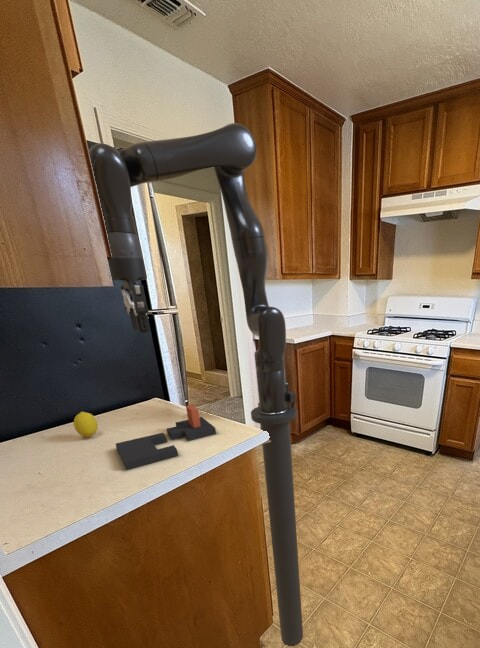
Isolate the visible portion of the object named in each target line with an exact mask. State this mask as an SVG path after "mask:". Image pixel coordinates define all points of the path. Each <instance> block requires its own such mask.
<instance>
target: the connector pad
mask: <svg viewBox="0 0 480 648" xmlns="http://www.w3.org/2000/svg"><path fill="white" fill-rule="evenodd" d="M185 409H186V413H187V419H185V420H179V421H176V422H175V426H172V427H168V428H166V433H167V434H166V435H167V436H168V437H169V439H171V441H175V440H179V439H182V438H185V439H186V441H188V442H190V441H194V440H197V439H202V438H206V437H209V436H214V435H217V431H216V430H217V429H216V427H215V426H214V425H213V424H211V423H210V422H209V421H208V420H206V419H205V418H204V417H203V416H200V413H199V408H198V407H196V406H195V405H194V404H190V405H186V406H185Z"/></svg>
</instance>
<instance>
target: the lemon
mask: <svg viewBox="0 0 480 648" xmlns="http://www.w3.org/2000/svg"><path fill="white" fill-rule="evenodd" d="M73 427H74V429H75V431H76V433H77V434H78V435H80V436H82V437H86V438H87V439H88V438H89V439H90V438H92V437H93V435H95V434H96V433H97V431H98V430H99V429H98V428H99V426H98V421H97V419H96V417H95V416H94V415H93V414H92V413H89V412H86V411H80V412H79V413H78V414H76V416H74V419H73Z"/></svg>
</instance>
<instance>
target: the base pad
mask: <svg viewBox="0 0 480 648" xmlns="http://www.w3.org/2000/svg"><path fill="white" fill-rule="evenodd" d="M167 442H168V441H167V436H166V435H165V433H164V432H159V433H156V434H151V435H147V436H142V437H138V438H134V439H133V438H132V439H128V440H125V441H121V442H116V443H115V449H116V451H117V454H118V456H119V458H120V460H121V462H122V464H123V467H124V468H125V470H126V471H128V470H132V469H135V468H139V467H143V466H147V465H151V464H154V463H159V462H161V461H165V460H168V459H173V458H177V457H179V453H178V448H177V447H176V446H175V445H174V444H173V445H170V446H165V447H161V448H157V445H160V444H166V443H167Z"/></svg>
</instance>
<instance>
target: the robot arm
mask: <svg viewBox="0 0 480 648" xmlns="http://www.w3.org/2000/svg"><path fill="white" fill-rule="evenodd" d="M88 151H89V154H90V158H91V163H92V167H93V171H94V176H95V181H96V184H97V189H98V194H99V198H100V203H101V208H102V212H103V216H104V220H105V225H106V230H107V234H108V240H109V244H110V249H111V253H112V258H111V259H109V261H108V262H109V267H110V271H111V276H112V279H111V280H112V281H121V282H122V285H120V290H121V294H122V299H123V304H124V310H125V311H126V313H127V314H128V316H129V320H130V325H131V329H132V330H133V331H138V332H139V333H141V334H144V333H145V334H146V333H147V334H148V333H150V331H151V330H150V326H149V325H150V324H149V321H148V313H149V312H150V311H149V310H150V309H149V308H148V303H147V298H146V293H145V289H144V285H143V284H140V283H139V281H144V280H147V279H148V275H147V270H146V265H145V261H144V259H145V258H144V254H143V250H142V246H141V242H140V239H139V235H138V231H137V226H136V222H135V216H134V214H133V206H132V205H133V204H132V189H131V188H133V187H135V186H139V185H142V184H148V183H149V184H151V183H158V182H163V181H168V180H173V179H177V178H180V177H185V176H187V175H190V174H193V173H196V172H199V171H202V170H207V169H212V168H213V170H214V174H215V176H216V180H217V184H218V187H219V190H220V194H221V196H222V200H223V205H224V210H225V215H226V219H227V223H228V228H229V232H230V239H231V243H232V248H233V253H234V257H235V260H236V264H237V269H238V274H239V280H240V283H241V288H242V293H243V299H244V308H245V309H244V310H245V317H246V319H245V320H246V324H247V327H248V329H249V331H250V332H251V334H253V335H254V336H256V337H258V344H259V345H258V349H257V350H255V352H254V363H255V374H256V384H257V393H258V396H257V397H258V403H257V407H260V413H261V414H263V415H280V414H283V413H286V412H287V411H289V410H290V405H291V408H293V407H295V405H296V402H297V400H296V399H297V397H296V393H295V392H293V391H291V390H290V385H289V382H287V379H286V365H285V353H286V351H287V327H286V325H287V324H286V319H285V315H284V314H283V312H282V311H281V310H280V309H279V308H277V307H274V306H269V301H268V297H267V291H266V279H267V273H268V265H269V264H268V263H269V253H268V245H267V241H266V235H265V231H264V228H263V225H262V223H261V220H260V218H259V217H258V214H257V213H256V211H255V210H254V208H253V206H252V204H251V202H250V199H249V196H248V192H247V187H246V182H245V176H244V175H245V174H244V173H245V172H244V171H246V170H247V169H249V168H250V167H251V166H252V165H253V164H254V162H255V161H256V158H257V154H258V153H257V152H258V148H257V142H256V140H255V136H254V135H253V133H252V132H251V131H250V129H248V128H247V127H246V126H244V125H243V124H241V123H237V122H232V123H228V124H226V125H224V126H222V127H220V128H218V129H215V130H212V131H208V132H205V133H200V134H196V135H190V136H185V137H184V136H183V137H176V138H168V139H157V140H150V141H149V140H148V141H141V142H140V141H139V142H135V143H132V144H130V145H129V146H127V147H125V148H120V149H117V148H115V147H114V146H111V145H110V144H107V143H103V142H101V143H96V144H94V145H92V146H91V147H90V149H89V150H88Z"/></svg>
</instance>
